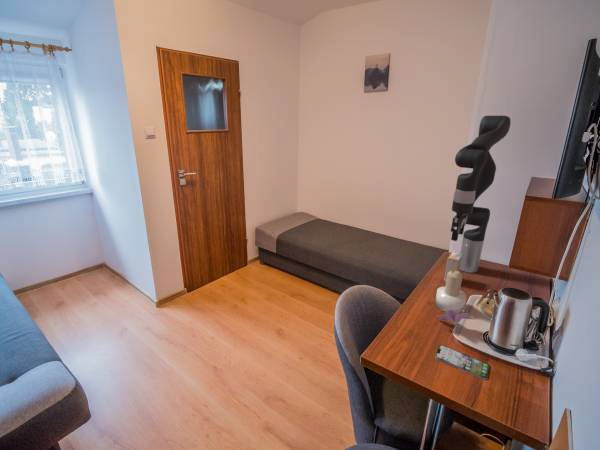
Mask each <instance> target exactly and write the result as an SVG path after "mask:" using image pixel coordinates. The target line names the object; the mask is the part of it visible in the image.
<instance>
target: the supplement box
mask: <svg viewBox="0 0 600 450" xmlns="http://www.w3.org/2000/svg"><path fill="white" fill-rule="evenodd" d="M461 257H462V254H460V252H459V253H457V252H453V251H452V252H451V253H450V254H449V256H448V257H447V262H446V268H445V274H444V279H443V283H446V279H447V274H448V272H450V271H452V270H457V271H458V272H459V273H460V269H459V268H460V263H461Z"/></svg>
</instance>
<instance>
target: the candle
mask: <svg viewBox="0 0 600 450" xmlns="http://www.w3.org/2000/svg"><path fill="white" fill-rule="evenodd" d="M463 277H464V276H463V274H462V273H461V272H460V271H459V272H458V271H457V270H452V271H450V272H448V274H447V279H446V282H445V293H446V294H447V295H449V296H453V297H456V296H459V293H460V290H461V288H462V287H461V286H462V282H463Z"/></svg>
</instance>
